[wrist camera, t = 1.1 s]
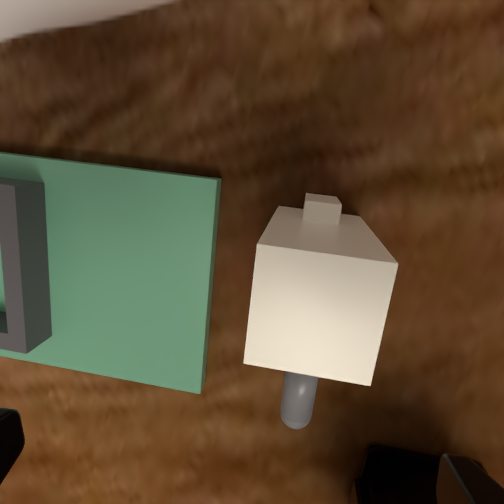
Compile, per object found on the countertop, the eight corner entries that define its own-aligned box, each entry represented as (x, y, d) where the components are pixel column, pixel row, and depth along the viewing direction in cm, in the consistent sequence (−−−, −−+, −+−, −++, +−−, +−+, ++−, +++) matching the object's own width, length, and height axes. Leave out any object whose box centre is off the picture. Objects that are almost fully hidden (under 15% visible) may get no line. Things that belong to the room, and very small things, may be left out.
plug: (363, 199, 18) (404, 235, 10) (335, 346, 20) (351, 468, 12) (280, 189, 18) (260, 216, 10) (262, 334, 20) (234, 444, 13)
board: (221, 178, 18) (205, 183, 15) (205, 383, 22) (189, 418, 19) (-93, 140, 20) (-159, 138, 18) (-65, 332, 24) (-116, 357, 21)
